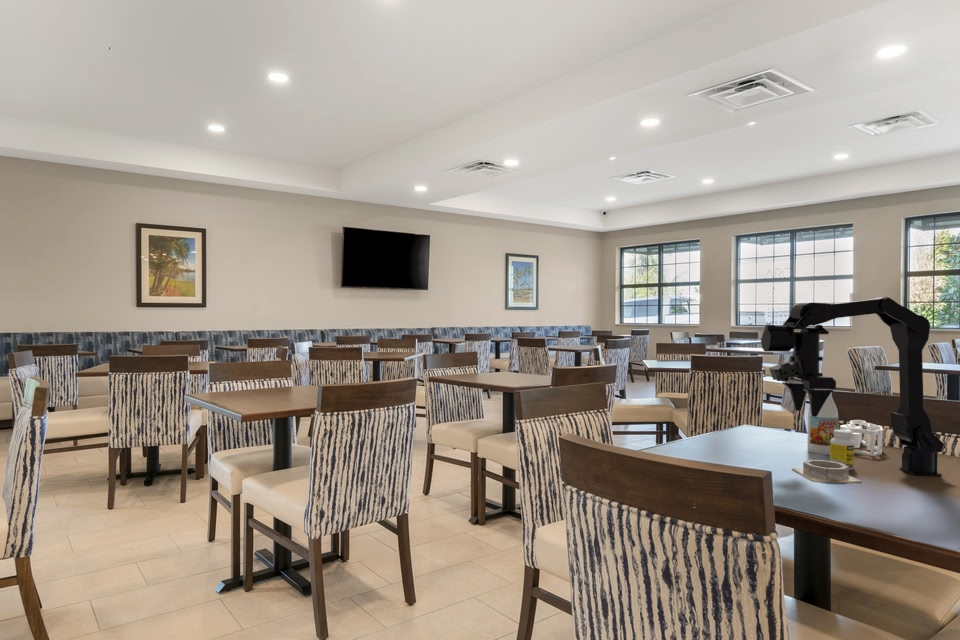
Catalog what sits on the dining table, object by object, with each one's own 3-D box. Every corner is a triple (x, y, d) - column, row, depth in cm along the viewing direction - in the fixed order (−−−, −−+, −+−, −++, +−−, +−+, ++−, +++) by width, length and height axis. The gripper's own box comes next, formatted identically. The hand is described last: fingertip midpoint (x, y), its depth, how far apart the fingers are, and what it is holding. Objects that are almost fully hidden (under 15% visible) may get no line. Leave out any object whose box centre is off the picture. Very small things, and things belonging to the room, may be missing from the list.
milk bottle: (801, 450, 177) (802, 382, 177) (821, 449, 179) (822, 382, 179) (823, 456, 170) (824, 385, 170) (844, 455, 172) (845, 385, 172)
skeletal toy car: (840, 441, 192) (841, 418, 192) (882, 445, 186) (883, 422, 186) (836, 453, 175) (836, 427, 175) (881, 458, 169) (882, 432, 169)
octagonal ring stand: (836, 472, 153) (837, 459, 153) (861, 484, 142) (861, 470, 142) (792, 471, 153) (792, 458, 153) (813, 483, 142) (813, 469, 142)
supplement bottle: (849, 472, 153) (849, 433, 153) (826, 467, 157) (826, 430, 157) (857, 468, 157) (857, 431, 156) (834, 464, 161) (834, 428, 161)
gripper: (759, 349, 163) (759, 407, 164) (789, 354, 145) (788, 419, 145) (802, 350, 162) (802, 407, 163) (837, 354, 144) (836, 420, 144)
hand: (805, 413), depth 154 cm, fingers open, 9 cm apart
